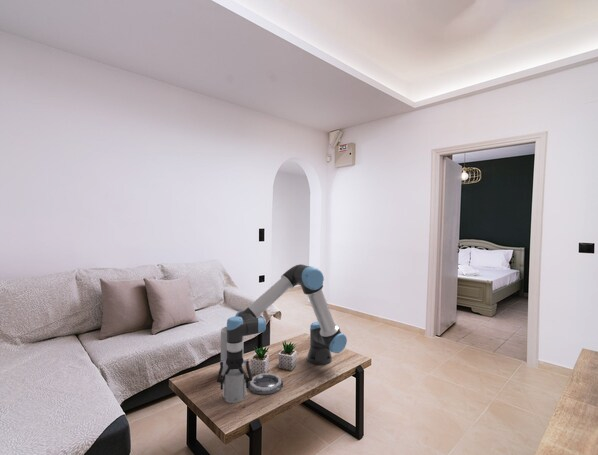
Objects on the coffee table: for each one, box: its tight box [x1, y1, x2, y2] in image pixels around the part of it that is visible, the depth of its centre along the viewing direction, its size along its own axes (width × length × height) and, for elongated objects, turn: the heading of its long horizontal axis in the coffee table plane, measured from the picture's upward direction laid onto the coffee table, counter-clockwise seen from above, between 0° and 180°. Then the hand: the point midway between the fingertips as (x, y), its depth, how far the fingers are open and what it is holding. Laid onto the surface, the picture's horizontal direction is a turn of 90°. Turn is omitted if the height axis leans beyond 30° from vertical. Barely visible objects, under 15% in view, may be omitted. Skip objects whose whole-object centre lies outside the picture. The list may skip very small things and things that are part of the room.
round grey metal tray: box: [247, 372, 284, 396], centre depth 165 cm, size 18×18×2 cm
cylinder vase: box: [220, 326, 244, 377], centre depth 178 cm, size 12×12×25 cm
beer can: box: [224, 369, 246, 404], centre depth 154 cm, size 10×10×12 cm
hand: (234, 395), depth 154 cm, fingers closed on beer can, 9 cm apart
